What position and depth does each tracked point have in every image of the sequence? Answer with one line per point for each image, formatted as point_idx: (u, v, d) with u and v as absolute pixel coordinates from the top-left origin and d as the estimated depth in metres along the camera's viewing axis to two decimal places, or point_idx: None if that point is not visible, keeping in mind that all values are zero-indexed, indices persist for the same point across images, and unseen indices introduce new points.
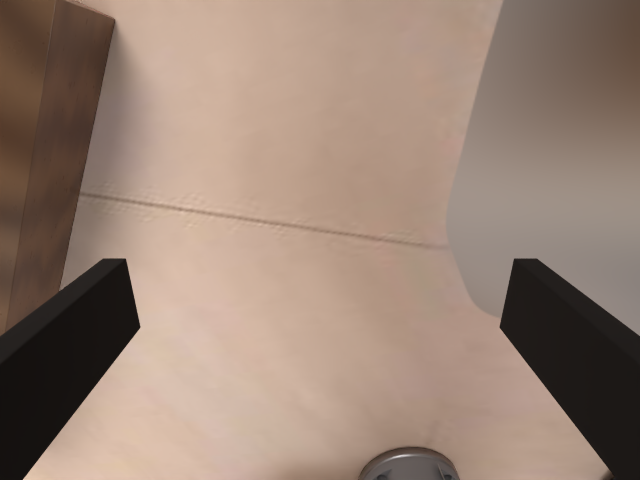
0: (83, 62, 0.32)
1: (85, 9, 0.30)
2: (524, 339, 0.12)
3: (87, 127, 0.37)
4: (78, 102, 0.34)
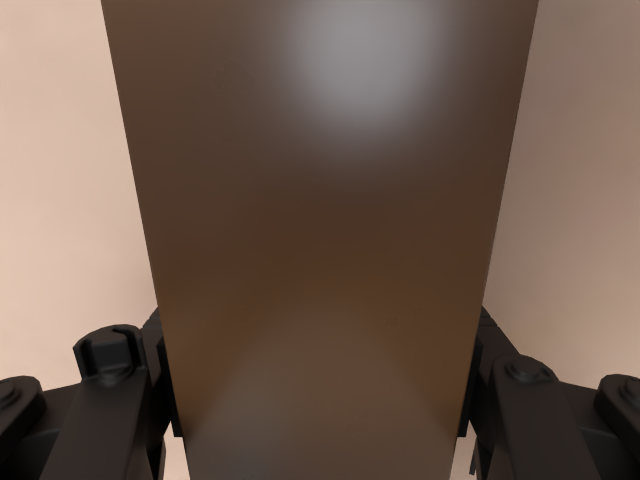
0: None
1: None
2: None
3: None
4: None
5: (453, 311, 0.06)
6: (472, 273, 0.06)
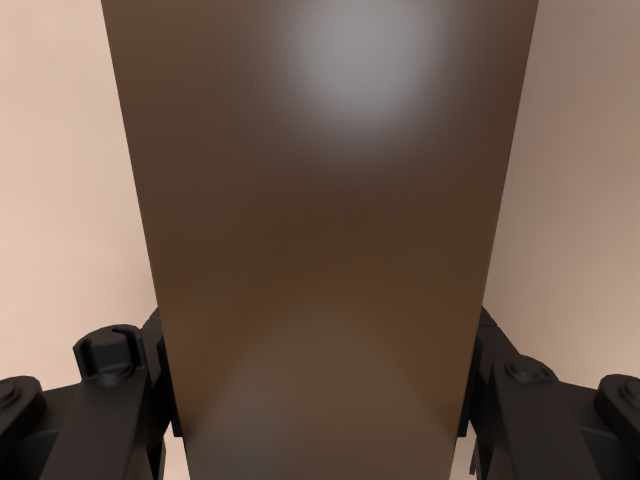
0: None
1: None
2: None
3: None
4: None
5: (453, 310, 0.06)
6: (472, 273, 0.06)
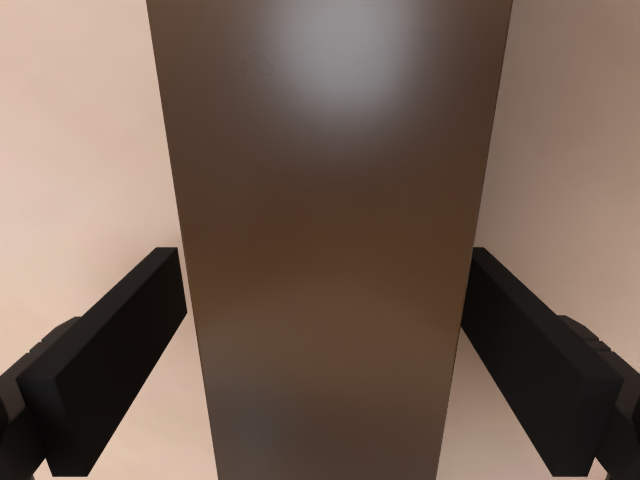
0: None
1: None
2: (469, 321, 0.12)
3: None
4: None
5: (445, 272, 0.07)
6: (461, 237, 0.07)
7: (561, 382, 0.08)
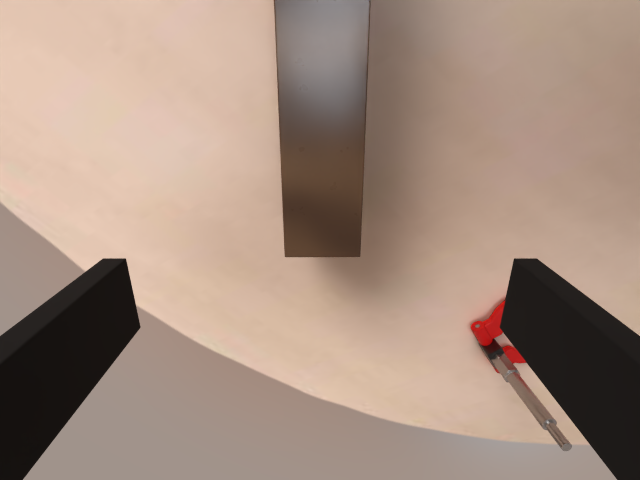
0: None
1: None
2: (524, 339, 0.12)
3: None
4: None
5: (357, 147, 0.24)
6: (360, 136, 0.24)
7: None
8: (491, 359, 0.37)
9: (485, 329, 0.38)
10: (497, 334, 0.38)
